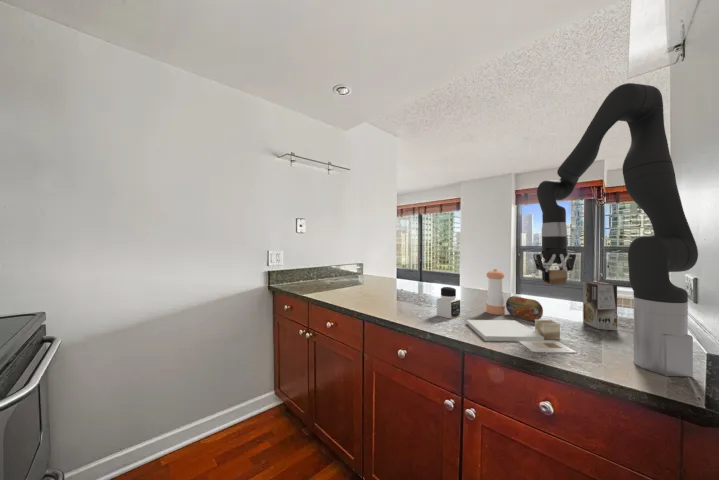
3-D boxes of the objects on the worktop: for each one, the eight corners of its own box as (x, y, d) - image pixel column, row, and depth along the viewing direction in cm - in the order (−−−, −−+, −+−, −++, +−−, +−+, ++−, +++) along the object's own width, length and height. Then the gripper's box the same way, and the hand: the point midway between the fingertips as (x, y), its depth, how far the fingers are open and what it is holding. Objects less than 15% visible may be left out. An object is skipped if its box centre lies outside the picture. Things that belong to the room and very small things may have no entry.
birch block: (559, 339, 90) (559, 324, 90) (543, 339, 90) (543, 324, 90) (550, 334, 95) (550, 319, 95) (535, 334, 95) (534, 319, 95)
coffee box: (618, 330, 98) (618, 284, 98) (597, 329, 99) (597, 284, 99) (601, 323, 107) (601, 281, 107) (582, 322, 108) (582, 280, 108)
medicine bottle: (451, 319, 113) (451, 289, 113) (436, 315, 118) (436, 287, 118) (460, 316, 117) (460, 287, 117) (445, 312, 123) (445, 285, 123)
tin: (505, 313, 121) (505, 294, 121) (510, 313, 122) (510, 294, 122) (538, 323, 106) (538, 301, 106) (544, 322, 108) (544, 301, 108)
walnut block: (566, 284, 98) (566, 270, 98) (551, 284, 98) (551, 270, 98) (556, 282, 103) (556, 269, 103) (543, 282, 103) (542, 269, 103)
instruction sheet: (576, 353, 79) (576, 351, 79) (533, 352, 79) (533, 350, 79) (555, 341, 88) (555, 340, 88) (516, 340, 88) (516, 339, 88)
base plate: (543, 341, 88) (543, 337, 88) (485, 340, 88) (485, 336, 88) (514, 324, 106) (514, 320, 106) (466, 323, 106) (466, 319, 106)
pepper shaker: (493, 315, 118) (493, 270, 118) (482, 310, 125) (482, 268, 125) (508, 314, 120) (508, 269, 120) (496, 310, 127) (496, 268, 127)
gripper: (539, 235, 97) (540, 283, 97) (582, 235, 97) (582, 284, 97) (527, 235, 105) (528, 280, 105) (567, 235, 104) (567, 281, 104)
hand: (554, 282), depth 101 cm, fingers closed on walnut block, 5 cm apart
